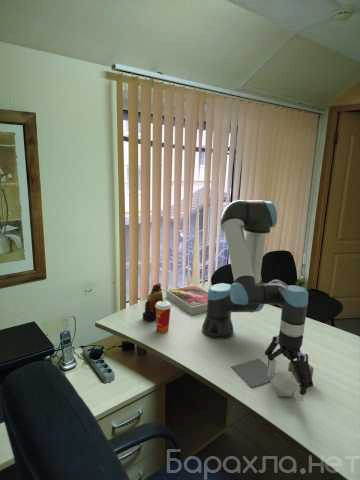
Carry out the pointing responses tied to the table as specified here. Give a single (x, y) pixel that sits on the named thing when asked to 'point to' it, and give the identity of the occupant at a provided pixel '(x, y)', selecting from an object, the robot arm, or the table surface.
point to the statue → (152, 303)
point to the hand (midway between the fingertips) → (284, 387)
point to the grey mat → (253, 372)
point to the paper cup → (162, 316)
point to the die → (284, 384)
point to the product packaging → (189, 298)
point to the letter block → (291, 369)
